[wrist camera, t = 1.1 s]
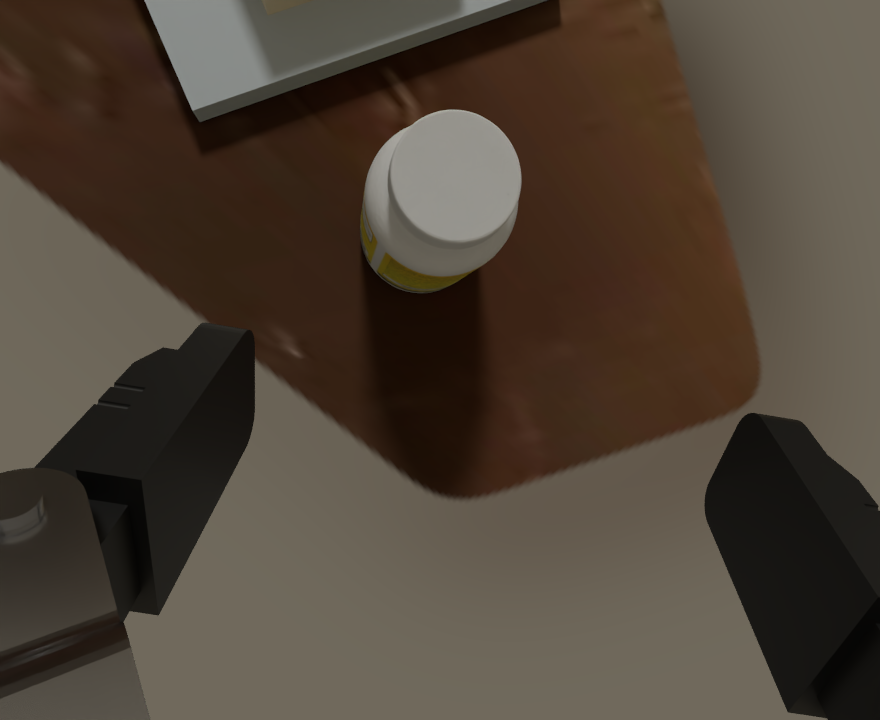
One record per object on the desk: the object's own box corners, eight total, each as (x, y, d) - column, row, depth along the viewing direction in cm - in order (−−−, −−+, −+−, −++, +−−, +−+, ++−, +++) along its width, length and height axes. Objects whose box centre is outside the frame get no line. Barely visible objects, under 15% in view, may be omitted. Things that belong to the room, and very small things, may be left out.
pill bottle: (500, 246, 33) (578, 196, 22) (409, 318, 32) (444, 302, 21) (428, 151, 32) (472, 50, 21) (334, 222, 32) (330, 156, 21)
